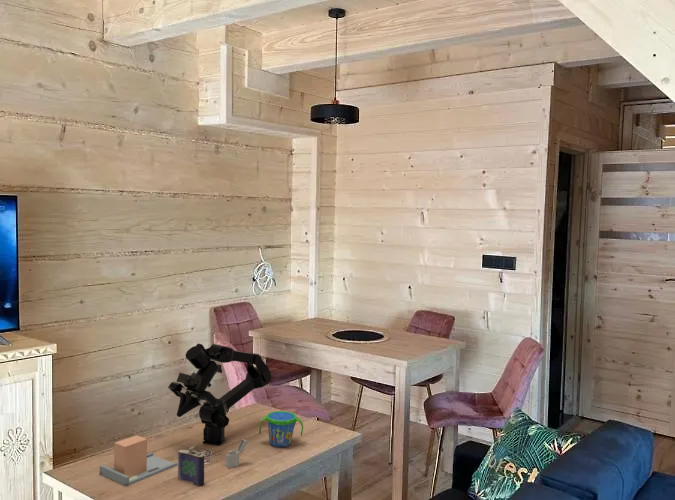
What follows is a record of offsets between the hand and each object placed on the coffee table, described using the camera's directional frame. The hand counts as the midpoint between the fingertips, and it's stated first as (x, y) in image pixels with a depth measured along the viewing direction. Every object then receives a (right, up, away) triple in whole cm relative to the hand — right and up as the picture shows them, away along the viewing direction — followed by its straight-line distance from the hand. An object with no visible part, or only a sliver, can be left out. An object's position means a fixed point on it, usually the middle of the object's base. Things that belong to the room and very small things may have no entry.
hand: (178, 416), depth 199 cm
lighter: (+20, -15, -5) cm, 25 cm away
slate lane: (-9, -14, -11) cm, 20 cm away
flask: (+9, -15, -17) cm, 25 cm away
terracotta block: (-11, -13, -14) cm, 22 cm away
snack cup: (+32, -14, +15) cm, 38 cm away
